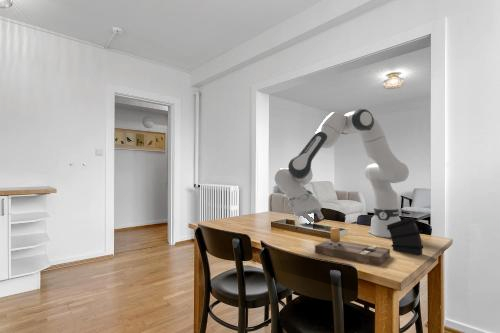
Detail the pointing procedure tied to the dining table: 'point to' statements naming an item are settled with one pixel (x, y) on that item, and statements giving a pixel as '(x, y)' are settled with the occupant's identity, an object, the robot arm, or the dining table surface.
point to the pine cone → (317, 218)
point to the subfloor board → (354, 252)
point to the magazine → (406, 236)
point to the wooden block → (335, 236)
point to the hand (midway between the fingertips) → (317, 219)
